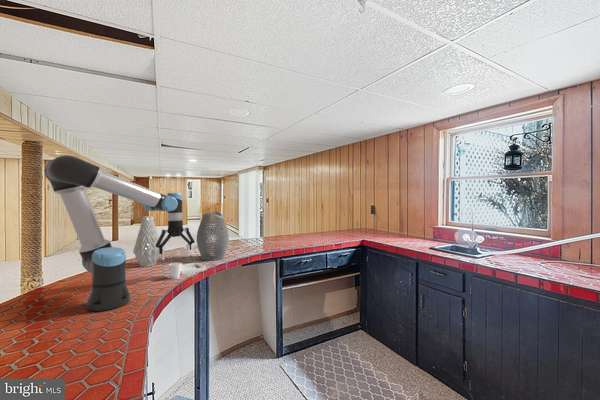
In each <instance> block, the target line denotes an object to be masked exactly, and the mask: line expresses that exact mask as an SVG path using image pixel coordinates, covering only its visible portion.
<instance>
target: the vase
mask: <svg viewBox="0 0 600 400" xmlns="http://www.w3.org/2000/svg"><path fill="white" fill-rule="evenodd" d="M139 226H140V227H139V231H138V234H137V236H136V240H135V244H134V247H133V251H132V253H133V254H134V255H135V260H136V261H137V263H138V264H139V266H140V267H151V266H155V265H156V264H157V262H158V260H159V258H160V256H161V254H160V253H159V248H157V247H155V245H156V243H157V241H158V239H159V237H160V236H159V234H158V230H157V228H156V223H155V220H154V217H153V216H152V215H150V216H149V215H146V216H142V220H141V224H140V225H139Z"/></svg>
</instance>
